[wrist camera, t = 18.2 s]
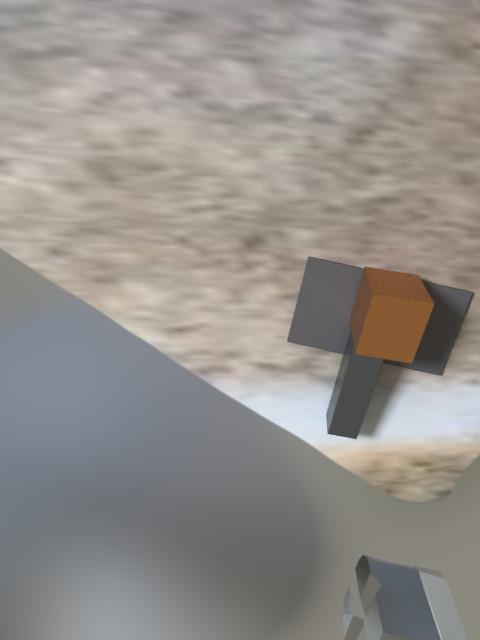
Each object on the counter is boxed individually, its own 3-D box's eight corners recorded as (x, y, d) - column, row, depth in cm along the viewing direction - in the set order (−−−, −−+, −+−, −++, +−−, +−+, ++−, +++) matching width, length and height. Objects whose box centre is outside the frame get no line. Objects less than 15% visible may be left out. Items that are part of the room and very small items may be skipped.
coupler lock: (328, 444, 46) (377, 453, 45) (373, 294, 37) (434, 303, 37) (325, 405, 51) (370, 413, 51) (364, 266, 42) (418, 275, 42)
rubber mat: (308, 256, 44) (308, 257, 44) (471, 291, 44) (472, 292, 43) (287, 340, 47) (287, 341, 47) (439, 373, 47) (440, 375, 46)
